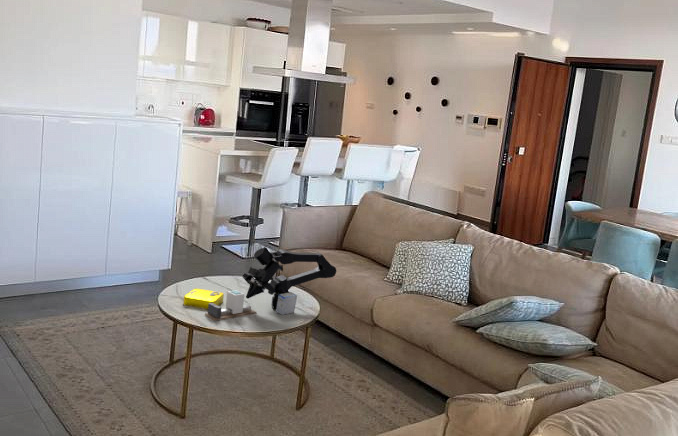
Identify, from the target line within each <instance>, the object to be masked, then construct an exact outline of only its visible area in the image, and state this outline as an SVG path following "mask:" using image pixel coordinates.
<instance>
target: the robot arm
mask: <svg viewBox="0 0 678 436" xmlns="http://www.w3.org/2000/svg"><path fill="white" fill-rule="evenodd" d="M253 258H254V259H256V261H258V263H259V264H260V265H261V266H264V267H263V268H259V269H256V268H254V267H252V266H250V267H249V269H248V271H247V272H245V273H244V274H243V275H242V278H243V279H244V281H245V282H246V283H247V284H248V285H249V287H248V291H247V292H246V295H245V298H246V299H250V298H253V297H256V296H257V295H260V294H262V293H265V290H267V293H268V294H270V295H272V298H271V307H272V309H274V310H276V309H277V303H278V296H279V294H284V293H289V292H290V291H289V290H290V289H291V288H292V287H295V286H298V285H301V284H304V283H307V282H311V281H314V280H318V279H330V278H333V277H335V275H336V274H337V268H336V266H334V265H333V264H331V263H330V262H329V261H328V260H327V259H326V258H325V256H324V255H323V254H322V253H320V252H295V251H290V250H286V249H281V248H280V249H278V250H277V251H273V252H270V251H269V249H268V248H267V247H266V246H263V247H261V248H259V249H258V250H256V251H255V252H254V254H253ZM303 262H304V263H316V264H317V267H315V268H314V269H311V270H308V271H305V272H301V273H298V274H295V275H291V276H289V277H287V276H285V275H284V274H281V275H279V276H274V275H275V274H276V273H277V272H278V271H280V272H283V271H284V266H285V265H290V264H293V263H303ZM273 277H274V278H273Z"/></svg>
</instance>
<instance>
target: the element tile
mask: <svg viewBox="0 0 678 436" xmlns="http://www.w3.org/2000/svg"><path fill="white" fill-rule="evenodd" d="M223 302H224V293H223V292H220V291H215V290H210V289H209V290H208V289H202V288H196V287H195V288H193V289H192V290H190V291H189V292H187V293H185V294H184V295H183V304H182V305H184V306H186V307H192V308H197V309H205V310H208V304H209V303H214V304H216V305H217V306H219V307H220V306H221V304H222V303H223Z"/></svg>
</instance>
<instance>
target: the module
mask: <svg viewBox="0 0 678 436" xmlns="http://www.w3.org/2000/svg"><path fill="white" fill-rule="evenodd" d="M244 300H245V293H243V292H241V291H239V290H237V289H235V290H229V291H226V300H225V309H227V308H230V309H232V314H236V313H242V311H243V306H244Z"/></svg>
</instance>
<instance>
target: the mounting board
mask: <svg viewBox="0 0 678 436" xmlns="http://www.w3.org/2000/svg"><path fill="white" fill-rule="evenodd" d="M256 314H257V311H256V310H253V309H252V308H251V310H250V311H244V312H242V313H236V314H227V315H221V318H215V317H213V316H211V315H210V314H208V312H206V313H204V316H206V317H208V318H209V319H211V320H213V321H215V322H217V321H223V320H228V319H235V318H239V317H244V316H250V315H256Z"/></svg>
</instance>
